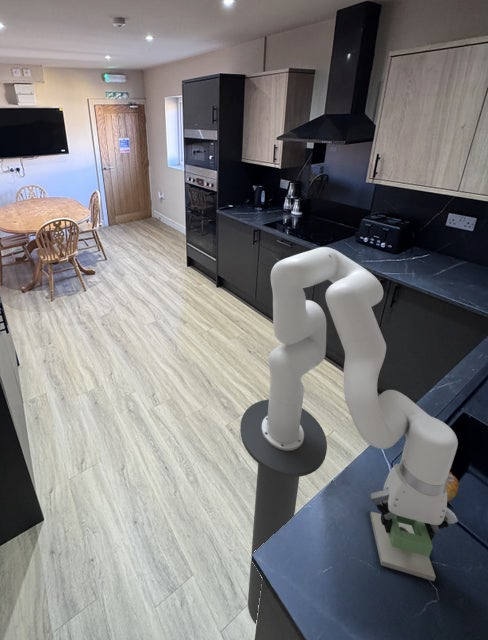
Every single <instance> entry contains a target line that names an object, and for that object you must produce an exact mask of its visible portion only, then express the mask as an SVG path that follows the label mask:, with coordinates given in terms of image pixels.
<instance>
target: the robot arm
mask: <svg viewBox="0 0 488 640" xmlns="http://www.w3.org/2000/svg"><path fill="white" fill-rule="evenodd" d="M325 281H329V282H331V285H329V286H328V288H327V289H326V291H325V295H324V296H325V303H326V306H327V308H328V311H329V313H330V316H331V319H332V322H333V324H334V327H335V329H336V332H337V335H338V338H339V341H340V342H341V346H342V348H343V351H344V361H343V362H344V363H343V364H344V365H343V395H344V399H345V403H346V407H347V409H348V412H349V415H350V417H351V419H352V420H351V421H352V422H353V424H354V426H355V428H356V430H357V432H358V434H359V435H360V436H361V438H362V439H363V440H364V441H365V442H366V443H367V444H368V445H369V446H371V447H373V448H375V449H378V450H387V449H390V448H392V447H393V446H394V445H395V444H397V443H398V442H399V441H400V439H401V438H402V437H403V436H404V437H405V442H404V446H403V450H402V454H401V458H400V461H399V463H398V462H397V463H395V464H394V465H393V466H392V468H391V469H390V471H389V473H388V475H387V476H386V479H385V482H384V485H383V489H381V490H378V491H374V492H370V493H369V497H370V501H371V502H372V503H373V504H374V506H376V509H377V510H378V511H379V512H380V514H381V523H382V525H384V526H385V530H386V533H390V530H391V526H392V524H393V521H392V518H393V517H394V516H396V515H398V516H401V517H405V518H409V519H413V520H416V521H420V522H424V523H425V526H426V529H427V532H428V535H429V537H430V540H431V542H432V540H433V539H434V537H435V535H436V533H440V530H441V529H445V528H448V527H449V525H453V524H456V523H458V518H457V516H456V514H455V513H454V512H453V511H452V510H451V509H450V508H449V507H448V502H447V488H446V483H447V482H454V478H453V476H454V474H453V473H452V474H449V472H451V469H452V465H453V462H454V459H455V456H456V453H457V449H458V447H459V446H458V445H459V441H458V438H457V435H456V433H455V431H454V430H453V429H452V428H451V427H450V426H449V425H448V424H446V423H445V422H443V421H442V420H440V419H438V418H436V417H433V416H431V415H430V414H428V413H427V412H426V411H425V410H424V409H422V408H421V407H420V406H418V404H416V403H415V402H414V401H413V400H411V399H410V398H409V397H408V396H407V395H405V394H403V393H402V392H400V391H399V390H395V389H386V390H385V391H383V392H382V393H380V394H378V382H379V381H378V380H379V376H380V371H381V369H382V366H383V364H384V361H385V357H386V354H387V344H386V341H385V339H384V336H383V333H382V331H381V328H380V327H379V324H378V321H377V318H376V316H375V313H374V310H373V308H372V307H374V306H376V305H378V304H379V303H380V302H381V301H382V300H383V297H384V288H383V285H382V284H381V282H380V280H378V278H377V277H376V276H375V275H374V274H372V273H371V272H370V271H369V270H367V269H366V268H365V267H363V266H361V265H360V264H359V263H357V262H355V261H354V260H352V259H351V258H349V257H347V256H346V255H345V254H343V253H342V252H340V251H338V250H337V249H334V248H331V247H328V246H320V247H316V248H314V249H311V250H307V251H303V252H301V253H297V254H294V255H291V256H289V257H285V258H283V259H280V260H279V261H277V262H276V263H275V264H274V265H273V267H272V268H271V271H270V284H271V290H272V323H273V324H272V325H273V332H274V336H275V338H276V339H277V340H278V342H280V343H281V344H279V345H278V346H276V347H275V348H274V349H273V350H272V351H271V352H270V353H269V356H268V367H269V375H270V376H269V377H270V381H269V392H268V399H269V405H268V416H266V417H265V418H264V420H263V422H262V433H263V436H264V438H265V439H266V440H267V441H268V442H269V443H270V444H271V445H272V446H274V447H275V448H278V449H280V450H285V451H291V450H295V449H297V448H299V447H300V446H301V445H302V443H303V440H304V432H303V429H302V427H301V425H300V419H301V411H302V408H303V403H304V402H303V401H304V394H305V388H304V384H303V382H302V378H303V376H305V375H306V374H308V373H309V372H310V371H311V370H313V369H314V368H316V367H318V366H319V365H321V363H322V362H323V361H324V359H325V358H326V352H327V318H326V315H325V312H324V310H323V308H322V307H321V306H320V305H319V304H318V303H317V302H315V301H313V300H311V299H307V297H306V293H305V290H304V289H306V288H310V287H313V286H315V285H318V284H320V283H323V282H325Z"/></svg>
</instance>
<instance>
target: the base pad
mask: <svg viewBox="0 0 488 640" xmlns="http://www.w3.org/2000/svg"><path fill="white" fill-rule="evenodd" d="M381 514H382V513H378V512H376V511H375V512H374V511H370V513H369V517H370V521H371V527H372V530H373V535H374V540H375V544H376V548H377V553H378V557H379V558H378V559H379V561H380V565H381V566H382V567H386V568H389V569H392V570H394V571H395V570H396V571H399V572H403V573H406V574H409V575H412V576H416V577H419V578H421V579H425V580H428V581H432V582H435V580H436V578H437V576H436V574H435V571H434V568H433V564H432V562H431V559H430V556H429V557H427V556H424V555H421V554H417V553H413V552H410V551H406V550H403V549H399V548H396V547H392V545H391V541H390V537H389V534H388V533H386V530H385V526H384V525H382V523H381ZM398 524H399V527H400V531H405V532H409V533H412V534H414V531H413V528H412V526H411V525H407V524H403V523H400V522H398Z"/></svg>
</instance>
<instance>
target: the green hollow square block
mask: <svg viewBox="0 0 488 640" xmlns="http://www.w3.org/2000/svg"><path fill="white" fill-rule="evenodd" d="M392 521H393V524H392V526H391V530H390V533H388V534H389V537H390V541H391V545H392V547H396V548H399V549H403V550H406V551H410V552H413V553H417V554H421V555H424V556H427V557H429V558H430V556H431V553H432V551H433V547H434V546H433V543H432V541H431V540H430V537H429V535H428V532H427V529H426V526H425V523H424V522H420V521H416V520H413V519H409V518H405V517H401V516H398V515H396V516H394V517H393V518H392ZM398 522H400V523H403V524H407V525H411V526H412V528H413V531H414V534H412V533H409V532H405V531H400V527H399V524H398Z"/></svg>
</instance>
